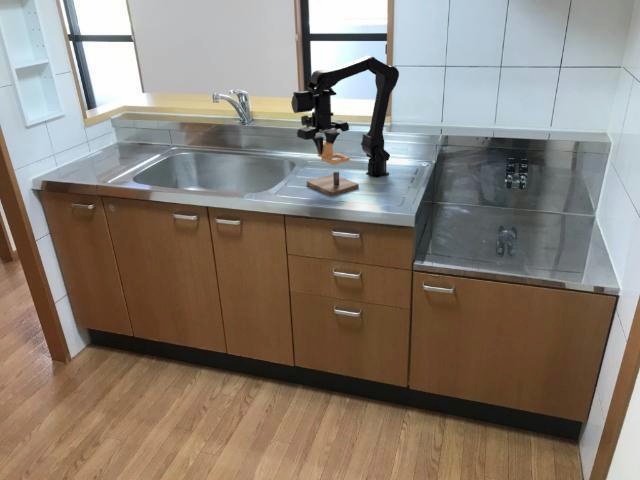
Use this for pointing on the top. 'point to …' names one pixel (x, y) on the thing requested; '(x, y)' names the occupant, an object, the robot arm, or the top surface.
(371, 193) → the top surface
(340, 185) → the post stand
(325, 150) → the ring link
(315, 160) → the top surface
